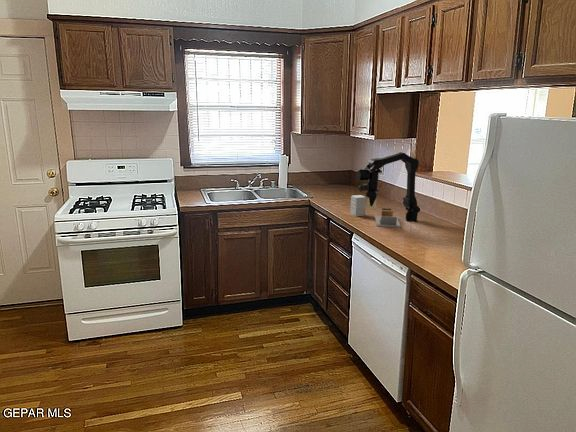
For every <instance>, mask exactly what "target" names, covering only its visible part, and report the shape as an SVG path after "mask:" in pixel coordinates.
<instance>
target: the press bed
mask: <svg viewBox="0 0 576 432" xmlns="http://www.w3.org/2000/svg"><path fill="white" fill-rule="evenodd" d="M374 220H375V221H374V222H375V226H376V227H382V228H383V227H385V228H387V227H388V228H401V224H400V221H399V219H398V217H397V216H393V217H389V216H381V215H374Z"/></svg>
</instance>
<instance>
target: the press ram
mask: <svg viewBox="0 0 576 432" xmlns="http://www.w3.org/2000/svg"><path fill="white" fill-rule="evenodd" d="M380 212H381V213H380V216H389V217H394V216H393V215H394V210H392V207H391V208H389V207H388V208H387V207H381V211H380Z"/></svg>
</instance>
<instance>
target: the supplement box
mask: <svg viewBox="0 0 576 432" xmlns="http://www.w3.org/2000/svg"><path fill="white" fill-rule="evenodd" d="M366 208H367V196H366V195H361V194H358V195H357V194H356V195H352V194H351V197H350V208H349V210H350V212H349V215H352V216H354V217H365V216H366Z"/></svg>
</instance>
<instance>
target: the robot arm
mask: <svg viewBox="0 0 576 432" xmlns="http://www.w3.org/2000/svg"><path fill="white" fill-rule="evenodd" d="M398 161H401V162H402V163H404V167H405V170H406V173H407V174H406V175H407V177H406V178H407V179H406V195H405V197H402V199H403V201H402V204H403V207H404V208H405V210H406V212H405V217H404V219H405V220H406V222H415V223H417V222H418V214H419V213H420V211H421V208H420V207H419V205H418V200H417V198H416V194H415V193H416V173H417V171H418V169H419V164H420V163H419V161H420V160H419V159H417V158H414V157H413V156H412V157H411V156H410V155H408V154H406V152H401V151H400V152H397V153H394V154H392V155H388V156H385V157H380V158H379V157H378V158H370V159H369V160H368V163H367V165H366V166H365V167H364V169H363V168H359V169H358V171H357V172H356V174H355V175H356V180H357V181H367V183H365V184H360V185H359V186H358V190H359V192H365V191H366V192H365V197H366V198H367V199H368V198H369V201H370V206H373V203H374V201H375V199H376V200H377V197H378V194H379V192H380V191H379V175H380V174H382V173H383V171H382V170H381V169H382V168H383V167H384V166H387V165H388V164H393V163H395V162H398Z"/></svg>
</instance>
